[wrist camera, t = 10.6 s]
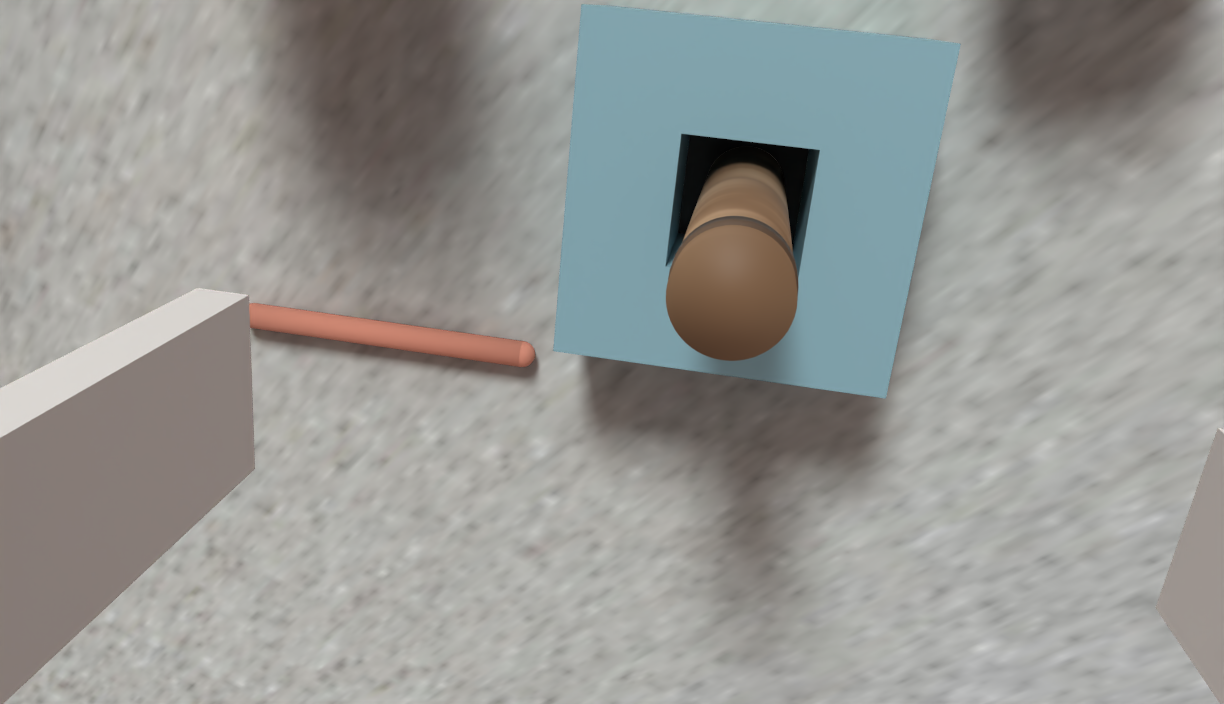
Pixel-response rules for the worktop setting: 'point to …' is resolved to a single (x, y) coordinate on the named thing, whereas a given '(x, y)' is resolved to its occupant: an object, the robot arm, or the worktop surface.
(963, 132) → the worktop surface
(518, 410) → the worktop surface
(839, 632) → the worktop surface
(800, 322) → the blue square hole block
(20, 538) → the robot arm
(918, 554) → the worktop surface
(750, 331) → the round wooden peg
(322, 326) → the salmon red rod
